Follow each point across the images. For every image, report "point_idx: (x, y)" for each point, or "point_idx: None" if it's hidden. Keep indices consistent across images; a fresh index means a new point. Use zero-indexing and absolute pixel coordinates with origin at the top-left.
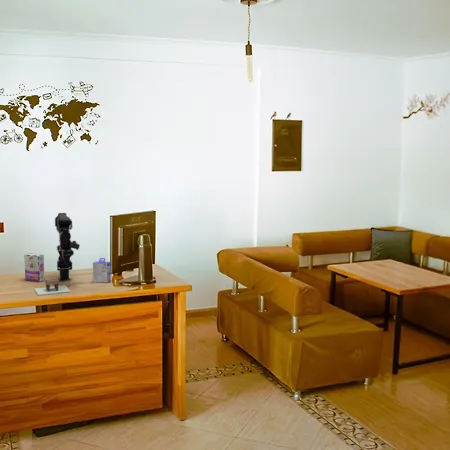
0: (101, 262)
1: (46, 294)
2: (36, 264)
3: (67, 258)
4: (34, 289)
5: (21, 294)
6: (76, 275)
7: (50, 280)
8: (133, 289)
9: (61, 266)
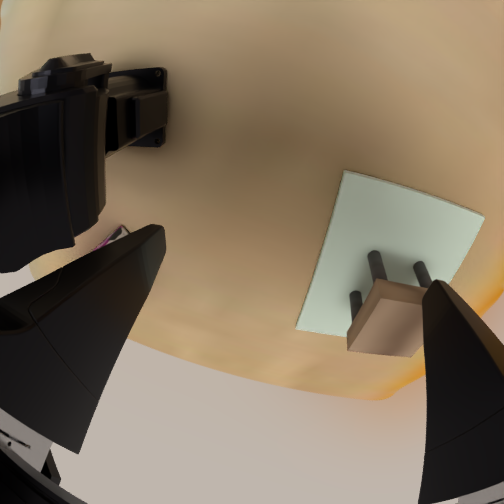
0: None
1: None
2: None
3: (491, 404)
4: (304, 328)
5: (335, 368)
6: (72, 24)
7: (405, 341)
8: None
9: (104, 187)
